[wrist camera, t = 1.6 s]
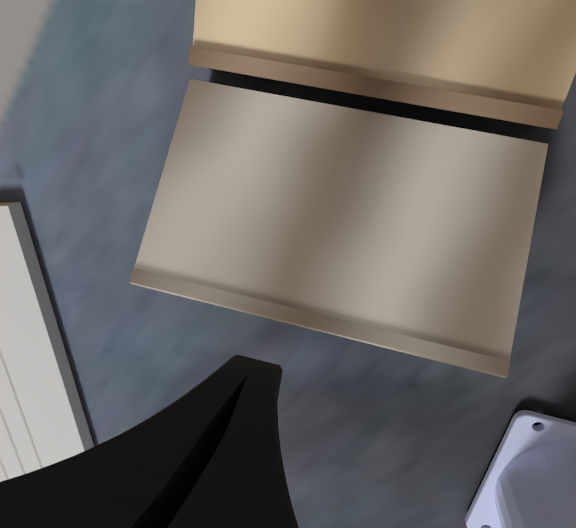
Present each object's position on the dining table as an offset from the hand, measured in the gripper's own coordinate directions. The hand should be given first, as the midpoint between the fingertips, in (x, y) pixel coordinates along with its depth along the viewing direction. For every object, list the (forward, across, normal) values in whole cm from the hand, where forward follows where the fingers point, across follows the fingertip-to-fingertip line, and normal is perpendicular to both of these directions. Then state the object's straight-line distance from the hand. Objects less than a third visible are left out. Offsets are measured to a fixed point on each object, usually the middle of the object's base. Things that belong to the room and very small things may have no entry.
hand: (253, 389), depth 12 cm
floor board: (+9, -1, -11) cm, 14 cm away
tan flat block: (+6, -1, -3) cm, 7 cm away
